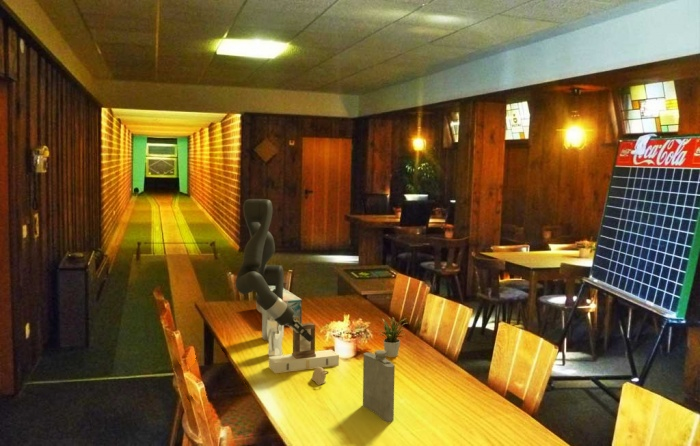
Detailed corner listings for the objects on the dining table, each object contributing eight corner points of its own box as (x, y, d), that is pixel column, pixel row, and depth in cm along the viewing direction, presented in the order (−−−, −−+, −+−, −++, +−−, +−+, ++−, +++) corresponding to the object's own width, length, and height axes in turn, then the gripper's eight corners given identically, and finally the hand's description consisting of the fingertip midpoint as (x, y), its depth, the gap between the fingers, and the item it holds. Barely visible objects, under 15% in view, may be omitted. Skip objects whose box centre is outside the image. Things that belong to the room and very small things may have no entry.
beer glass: (280, 357, 258) (280, 321, 256) (264, 356, 259) (264, 320, 257) (285, 352, 264) (286, 317, 263) (269, 351, 266) (270, 316, 264)
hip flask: (361, 405, 209) (361, 345, 207) (371, 402, 210) (372, 344, 209) (386, 422, 195) (388, 359, 193) (397, 420, 197) (399, 357, 195)
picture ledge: (275, 373, 238) (275, 363, 238) (268, 366, 246) (268, 356, 245) (338, 365, 249) (339, 355, 248) (331, 359, 256) (331, 349, 256)
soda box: (303, 325, 309) (303, 299, 308) (275, 327, 304) (275, 301, 303) (279, 307, 347) (279, 284, 346) (254, 309, 342) (254, 285, 340)
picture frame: (296, 359, 243) (296, 327, 242) (292, 355, 248) (292, 324, 246) (315, 356, 246) (316, 325, 245) (311, 353, 251) (311, 322, 250)
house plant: (416, 353, 266) (417, 314, 264) (405, 362, 254) (406, 322, 252) (385, 348, 272) (385, 311, 270) (372, 357, 259) (373, 318, 258)
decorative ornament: (320, 377, 234) (320, 363, 234) (330, 385, 227) (330, 370, 226) (310, 379, 233) (310, 365, 232) (319, 386, 225) (319, 372, 225)
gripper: (291, 307, 235) (320, 334, 241) (280, 299, 248) (307, 325, 254) (278, 322, 234) (307, 349, 240) (267, 313, 247) (295, 339, 252)
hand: (307, 337), depth 247 cm, fingers open, 8 cm apart
